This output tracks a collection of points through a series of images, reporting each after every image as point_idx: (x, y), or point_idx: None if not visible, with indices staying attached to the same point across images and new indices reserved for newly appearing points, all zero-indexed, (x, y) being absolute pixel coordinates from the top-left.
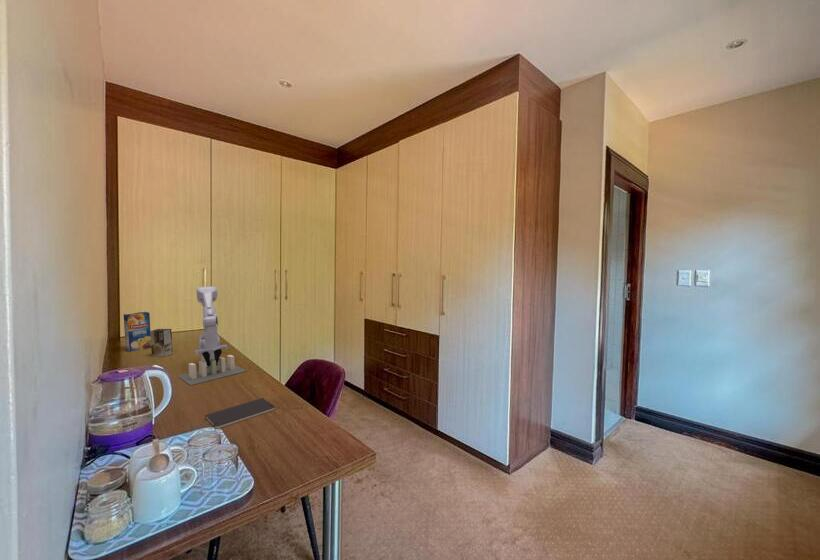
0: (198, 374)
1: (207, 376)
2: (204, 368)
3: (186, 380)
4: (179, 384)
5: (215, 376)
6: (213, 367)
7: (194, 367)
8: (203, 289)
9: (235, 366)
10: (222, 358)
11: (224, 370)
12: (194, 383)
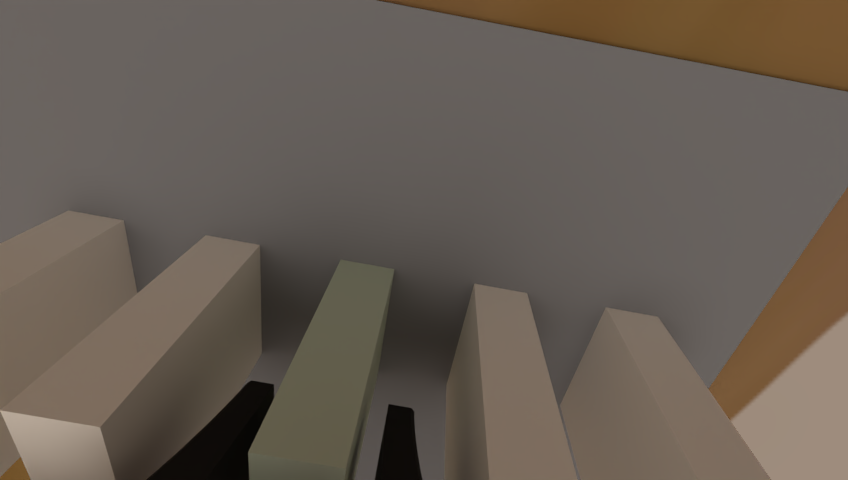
0: None
1: (481, 257)
2: (514, 382)
3: (714, 344)
4: (840, 305)
5: (418, 147)
6: (355, 338)
7: (721, 473)
8: None
9: None
10: (67, 446)
11: (213, 249)
12: (815, 117)
